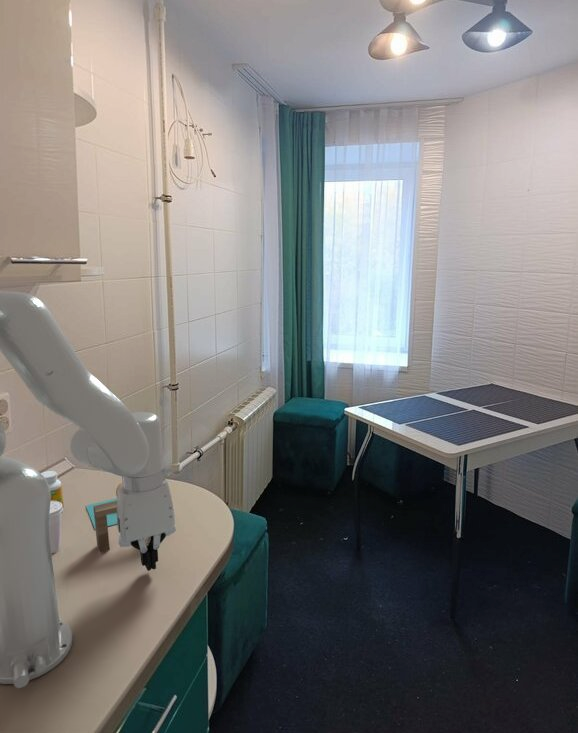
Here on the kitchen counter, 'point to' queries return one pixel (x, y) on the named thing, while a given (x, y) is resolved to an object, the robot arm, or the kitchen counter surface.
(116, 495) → the ball
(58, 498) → the supplement bottle
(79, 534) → the kitchen counter surface
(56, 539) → the smoothie
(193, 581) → the kitchen counter surface
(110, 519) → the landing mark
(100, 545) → the bridge
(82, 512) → the kitchen counter surface
